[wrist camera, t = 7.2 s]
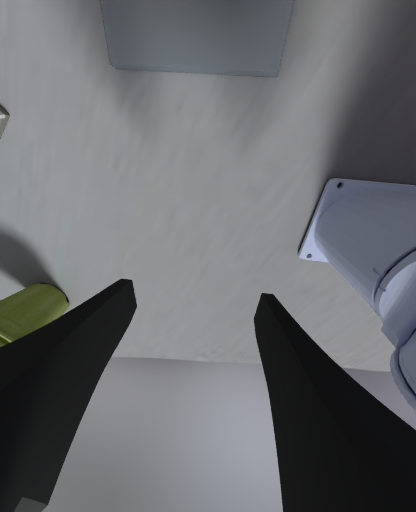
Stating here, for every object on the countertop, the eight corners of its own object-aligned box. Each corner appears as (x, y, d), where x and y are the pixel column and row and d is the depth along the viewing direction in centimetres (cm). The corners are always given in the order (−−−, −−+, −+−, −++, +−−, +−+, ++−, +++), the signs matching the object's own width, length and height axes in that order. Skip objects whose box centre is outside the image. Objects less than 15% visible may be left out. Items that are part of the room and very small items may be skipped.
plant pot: (32, 262, 25) (-56, 308, 17) (89, 301, 27) (35, 354, 20) (16, 291, 29) (-61, 339, 21) (67, 322, 31) (16, 374, 24)
